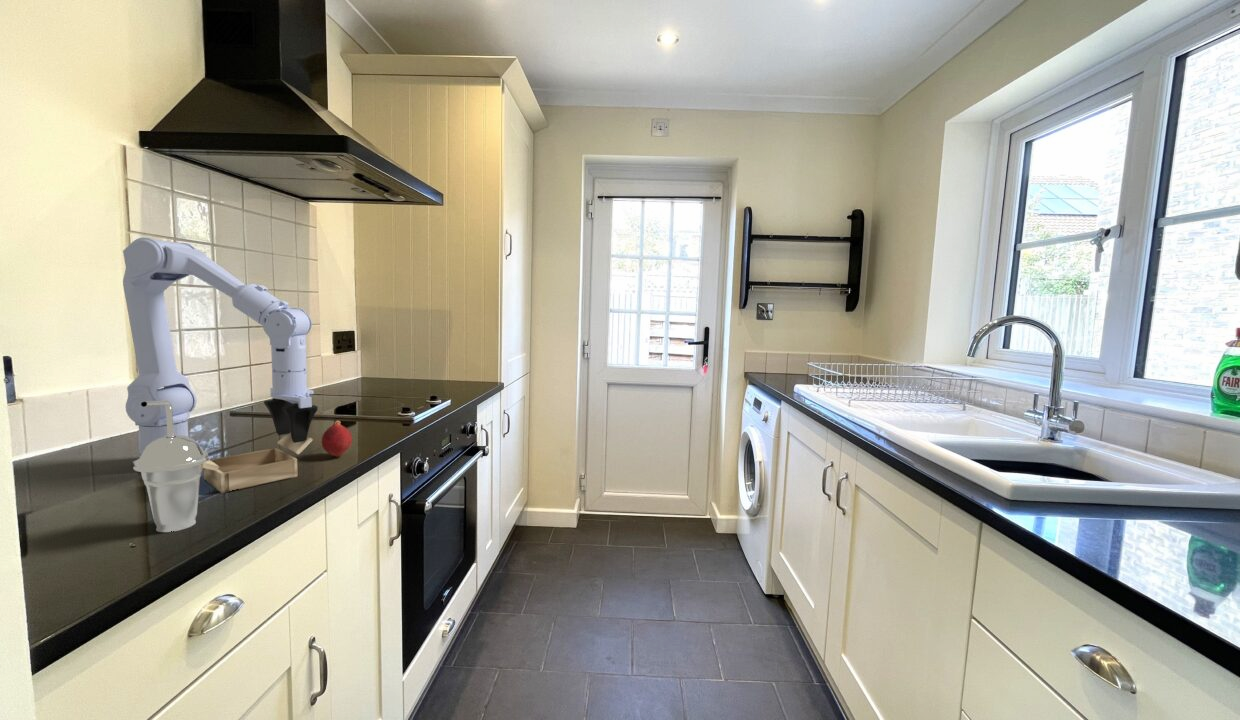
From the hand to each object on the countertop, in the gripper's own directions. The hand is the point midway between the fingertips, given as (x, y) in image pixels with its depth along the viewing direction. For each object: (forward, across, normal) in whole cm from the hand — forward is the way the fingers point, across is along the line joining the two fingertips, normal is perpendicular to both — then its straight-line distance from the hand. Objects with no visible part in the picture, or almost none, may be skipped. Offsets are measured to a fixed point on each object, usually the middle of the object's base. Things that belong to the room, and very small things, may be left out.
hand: (291, 437), depth 102 cm
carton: (+6, 0, +7) cm, 10 cm away
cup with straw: (+7, -15, +21) cm, 27 cm away
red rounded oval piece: (+7, +2, -10) cm, 12 cm away
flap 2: (+1, 0, 0) cm, 1 cm away
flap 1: (+1, 0, +15) cm, 15 cm away
